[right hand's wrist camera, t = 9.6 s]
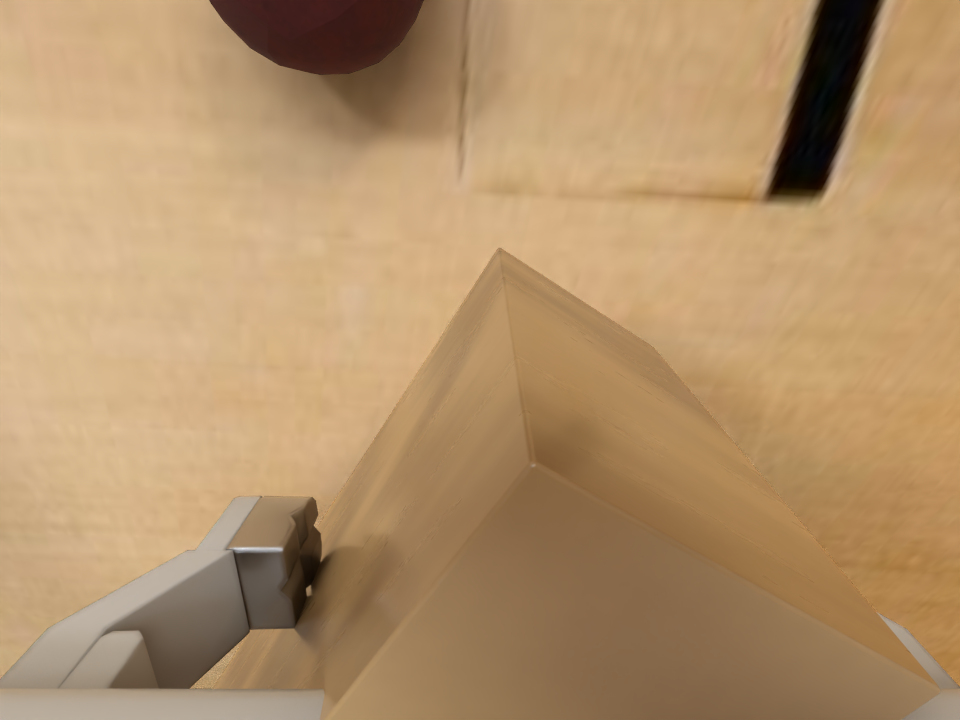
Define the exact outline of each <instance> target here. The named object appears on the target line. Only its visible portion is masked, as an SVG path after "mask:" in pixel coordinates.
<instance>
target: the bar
mask: <svg viewBox="0 0 960 720" xmlns="http://www.w3.org/2000/svg"><path fill="white" fill-rule="evenodd" d="M316 529H317V530H318V531H319V532H320V533H321V540H322V557H321V562H320V565H319V567H318V570H317V573H316V575H315V578H314V580H313V582H312V584H311V585H310V586H309V587H307V588H306V592H307V598H306V601H305V604H304V606H303V609H302V611H301V614H300V616H299V619H298V622H297V624H296V626H295V628H294V629H260V630H250V633H249V634H248V635H247V636H246V638H245V639H244V641H243V643H242V644H241V646H240V647H239V649H238V650H237V652H236V653H235V655H234V656H233V658H232V660H231V661H230V663H229V664H228V666H227V667H226V669H225V670H224V672H223V673H222V675H221V676H220V678H219V680H218V681H217V683H216V684H215V686H214V687H213V689H323V690H324V701H323V706H322V711H321V716H320V720H902V719H903V718H905V717H906V716H908V715H909V714H911V713H912V712H914V711H915V710H916V709H918V708H919V707H921V706H922V705H924V704H925V703H927V702H928V701H930V700H931V699H932V698H934V697H935V696H937V695H938V694H939V693H940V692H941V690H940V688H939V686H938V685H937V683H936V682H935V681H934V680H933V679H932V678H931V676H930V675H929V674H928V673H927V672H926V670H925V669H924V668H923V667H922V666H921V664H920V663H919V662H918V661H917V660H916V659H915V657H914V656H913V655H912V654H911V653H910V651H909V650H908V649H907V648H906V647H905V645H904V644H903V643H902V642H901V641H900V640H899V638H898V637H897V636H896V635H895V634H894V632H893V631H892V630H891V629H890V628H889V626H888V625H887V624H886V623H885V622H884V621H883V619H882V618H881V617H880V616H879V615H878V613H877V612H876V611H875V610H874V609H873V607H872V606H871V605H870V604H869V603H868V602H867V600H866V599H865V598H864V597H863V596H862V594H861V593H860V592H859V591H858V590H857V588H856V587H855V586H854V585H853V584H852V583H851V581H850V580H849V579H848V578H847V577H846V575H845V574H844V573H843V572H842V571H841V569H840V568H839V567H838V566H837V565H836V563H835V562H834V561H833V560H832V559H831V558H830V556H829V555H828V554H827V553H826V552H825V550H824V549H823V548H822V547H821V546H820V544H819V543H818V542H817V541H816V540H815V539H814V537H813V536H812V535H811V534H810V533H809V531H808V530H807V529H806V528H805V527H804V525H803V524H802V523H801V522H800V521H799V520H798V518H797V517H796V516H795V515H794V514H793V512H792V511H791V510H790V509H789V508H788V506H787V505H786V504H785V503H784V502H783V501H782V499H781V498H780V497H779V496H778V495H777V493H776V492H775V491H774V490H773V489H772V487H771V486H770V485H769V484H768V483H767V482H766V480H765V479H764V478H763V477H762V476H761V474H760V473H759V472H758V471H757V470H756V468H755V467H754V466H753V465H752V464H751V463H750V461H749V460H748V459H747V458H746V457H745V455H744V454H743V453H742V452H741V451H740V449H739V448H738V447H737V446H736V445H735V444H734V442H733V441H732V440H731V439H730V438H729V436H728V435H727V434H726V433H725V432H724V430H723V429H722V428H721V427H720V426H719V425H718V423H717V422H716V421H715V420H714V419H713V417H712V416H711V415H710V414H709V413H708V411H707V410H706V409H705V408H704V407H703V405H702V404H701V403H700V402H699V401H698V400H697V398H696V397H695V396H694V395H693V394H692V392H691V391H690V390H689V389H688V388H687V386H686V385H685V384H684V383H683V382H682V381H681V379H680V378H679V377H678V376H677V375H676V373H675V372H674V371H673V370H672V369H671V367H670V366H669V365H668V364H667V363H666V362H665V360H664V359H663V358H662V357H661V356H660V354H659V353H658V352H657V351H656V350H655V348H654V347H652V346H651V345H649V344H648V343H646V342H644V341H643V340H641V339H640V338H638V337H637V336H635V335H634V334H632V333H631V332H629V331H628V330H626V329H624V328H623V327H621V326H620V325H618V324H617V323H615V322H614V321H612V320H611V319H609V318H608V317H606V316H604V315H603V314H601V313H600V312H598V311H597V310H595V309H594V308H592V307H591V306H589V305H588V304H586V303H584V302H583V301H581V300H580V299H578V298H577V297H575V296H574V295H572V294H571V293H569V292H568V291H566V290H564V289H563V288H561V287H560V286H558V285H557V284H555V283H554V282H552V281H551V280H549V279H548V278H546V277H544V276H543V275H541V274H540V273H538V272H537V271H535V270H534V269H532V268H531V267H529V266H527V265H526V264H524V263H523V262H521V261H520V260H518V259H517V258H515V257H514V256H512V255H511V254H509V253H507V252H506V251H504V250H503V249H501V248H498V249H497V251H496V252H495V254H494V255H493V257H492V258H491V260H490V262H489V263H488V265H487V266H486V268H485V269H484V271H483V272H482V274H481V275H480V277H479V278H478V280H477V282H476V283H475V285H474V286H473V288H472V289H471V291H470V292H469V294H468V295H467V297H466V299H465V300H464V302H463V303H462V305H461V306H460V308H459V309H458V311H457V312H456V314H455V316H454V317H453V319H452V320H451V322H450V323H449V325H448V326H447V328H446V329H445V331H444V332H443V334H442V336H441V337H440V339H439V340H438V342H437V343H436V345H435V346H434V348H433V349H432V351H431V353H430V354H429V356H428V357H427V359H426V360H425V362H424V363H423V365H422V366H421V368H420V370H419V371H418V373H417V374H416V376H415V377H414V379H413V380H412V382H411V383H410V385H409V386H408V388H407V390H406V391H405V393H404V394H403V396H402V397H401V399H400V400H399V402H398V403H397V405H396V407H395V408H394V410H393V411H392V413H391V414H390V416H389V417H388V419H387V420H386V422H385V423H384V425H383V427H382V428H381V430H380V431H379V433H378V434H377V436H376V437H375V439H374V440H373V442H372V444H371V445H370V447H369V448H368V450H367V451H366V453H365V454H364V456H363V457H362V459H361V461H360V462H359V464H358V465H357V467H356V468H355V470H354V471H353V473H352V474H351V476H350V477H349V479H348V481H347V482H346V484H345V485H344V487H343V488H342V490H341V491H340V493H339V494H338V496H337V498H336V499H335V501H334V502H333V504H332V505H331V507H330V508H329V510H328V511H327V513H326V515H325V516H324V518H323V519H322V521H321V522H320V524H319V525H318V527H317V528H316Z"/></svg>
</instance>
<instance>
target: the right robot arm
mask: <svg viewBox="0 0 960 720" xmlns="http://www.w3.org/2000/svg"><path fill="white" fill-rule="evenodd" d="M317 516H318V511H317V505H316V501H315V500H314V498H313V497H284V496H264V497H262V496H239V497H236V498H234V499H233V500H232V501H231V503H230V504H229V506H228V507H227V508H226V510H225V511H224V512H223V514H222V515H221V516H220V518H219V519H218V520H217V522H216V523H215V524H214V526H213V527H212V528H211V530H210V531H209V532H208V534H207V535H206V537H205V538H204V539H203V541H202V542H201V543H200V545H199V546H198V547H197V549H196V550H187V551H185V552H183V553H182V554H180V555H178V556H176V557H174V558H173V559H171V560H169V561H167V562H165V563H164V564H162V565H160V566H158V567H156V568H155V569H153V570H151V571H149V572H148V573H146V574H144V575H142V576H140V577H139V578H137V579H135V580H133V581H131V582H130V583H128V584H126V585H124V586H123V587H121V588H119V589H117V590H115V591H114V592H112V593H110V594H108V595H106V596H105V597H103V598H101V599H99V600H97V601H96V602H94V603H92V604H90V605H89V606H87V607H85V608H83V609H81V610H80V611H78V612H76V613H74V614H72V615H71V616H69V617H67V618H65V619H63V620H62V621H60V622H58V623H56V624H55V625H53V626H51V627H49V628H48V629H47V630H46V631H45V632H44V633H43V634H42V635H41V636H40V637H39V638H38V639H37V640H36V641H35V642H34V644H33V645H32V646H31V647H30V648H29V649H28V650H27V651H26V652H25V653H24V654H23V655H22V656H21V657H20V659H19V660H18V661H17V662H16V663H15V664H14V665H13V666H12V667H11V668H10V669H9V670H8V671H7V672H6V674H5V675H4V676H3V677H2V678H1V679H0V720H320V716H321V711H322V706H323V701H324V690H323V689H189V688H190V687H191V686H192V685H194V684H195V683H196V682H197V681H198V680H199V679H200V678H201V677H202V676H203V675H204V674H205V673H206V672H208V671H209V670H210V669H211V668H212V667H213V666H214V665H215V664H216V663H217V662H218V661H219V660H221V659H222V658H223V657H224V656H225V655H226V654H227V653H228V652H229V651H230V650H231V649H232V648H234V647H235V646H236V645H237V644H238V643H239V642H240V641H241V640H242V639H243V638H244V637H245V636H247V635H248V634H249V633H250V630H260V629H294V628H295V626H296V624H297V622H298V619H299V616H300V614H301V611H302V609H303V606H304V604H305V601H306V598H307V592H306V588H307V587H309V586H310V585H311V584H312V582H313V580H314V578H315V575H316V573H317V570H318V567H319V565H320V562H321V557H322V540H321V533H320V532H319V531H318V530H317V529H316V528H315V527H314V526H313V525H314V523H315V521H316V519H317ZM878 615H879V616H880V617H881V618H882V619H883V621H884V622H885V623H886V624H887V625H888V626H889V628H890V629H891V630H892V631H893V632H894V634H895V635H896V636H897V637H898V638H899V640H900V641H901V642H902V643H903V644H904V645H905V647H906V648H907V649H908V650H909V651H910V653H911V654H912V655H913V656H914V657H915V659H916V660H917V661H918V662H919V663H920V664H921V666H922V667H923V668H924V669H925V670H926V672H927V673H928V674H929V675H930V676H931V678H932V679H933V680H934V681H935V682H936V683H937V685H938V686H939V688H940V690H941V692H940V693H939V694H938V695H937V696H935V697H934V698H932V699H931V700H930V701H928V702H927V703H925V704H924V705H922V706H921V707H919V708H918V709H916V710H915V711H914V712H912V713H911V714H909V715H908V716H906V717H905V718H903V719H902V720H960V687H959V686H958V685H957V684H956V682H955V681H954V680H953V679H952V678H951V677H950V676H949V675H948V674H947V673H946V672H945V670H944V669H943V668H942V667H941V666H940V665H939V664H938V663H937V662H936V661H935V659H934V658H933V657H932V656H931V655H930V654H929V653H928V652H927V651H926V650H925V649H924V647H923V646H922V645H921V644H920V643H919V642H918V641H917V640H916V639H915V638H914V637H913V635H912V634H911V633H910V632H909V631H908V630H907V629H906V628H904V627H902V626H900V625H899V624H897V623H895V622H893V621H891V620H890V619H888V618H886V617H884V616H883V615H881V614H879V613H878Z"/></svg>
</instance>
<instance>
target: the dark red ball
mask: <svg viewBox="0 0 960 720" xmlns="http://www.w3.org/2000/svg"><path fill="white" fill-rule="evenodd" d="M209 1H210V2H211V4H212V5H213V7H214V8H215V10H216V11H217V12H218V14H219V15H220V17H221V18H222V19H223V21H224V22H225V23H226V24H227V25H228V26H229V27H230V28H231V29H232V30H233V31H234V32H235V33H236V34H237V35H238V36H239V37H240V38H241V39H242V40H243V41H244V42H245V43H246V44H247V45H248V46H249V47H250V48H251V49H253V50H254V51H256V52H258V53H259V54H261V55H263V56H265V57H266V58H268V59H270V60H271V61H273V62H275V63H276V64H278V65H280V66H284V67H288V68H292V69H296V70H301V71H305V72H309V73H314V74H319V75H325V74H349V73H352V72H355V71H358V70H360V69H363V68H366V67H368V66H371V65H373V64H376V63H379V62H380V61H381V60H382V59H383V58H384V57H386V56H387V55H388V54H389V53H390V52H391V51H392V50H394V49H395V48H396V47H397V46H398V45H399V44H400V43H401V41H402V40H403V38H404V37H405V35H406V34H407V32H408V31H409V29H410V28H411V26H412V25H413V23H414V22H415V20H416V18H417V15H418V13H419V10H420V8H421V5H422V3H423V1H424V0H209Z"/></svg>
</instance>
